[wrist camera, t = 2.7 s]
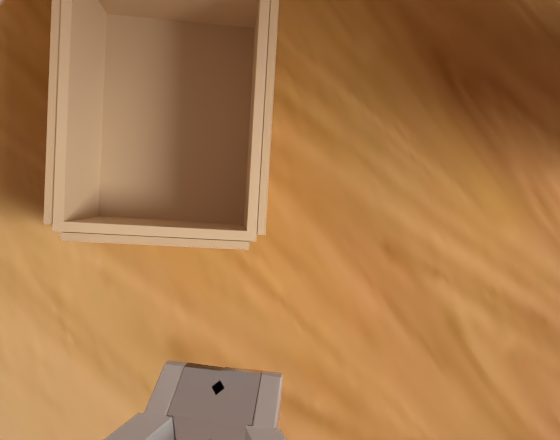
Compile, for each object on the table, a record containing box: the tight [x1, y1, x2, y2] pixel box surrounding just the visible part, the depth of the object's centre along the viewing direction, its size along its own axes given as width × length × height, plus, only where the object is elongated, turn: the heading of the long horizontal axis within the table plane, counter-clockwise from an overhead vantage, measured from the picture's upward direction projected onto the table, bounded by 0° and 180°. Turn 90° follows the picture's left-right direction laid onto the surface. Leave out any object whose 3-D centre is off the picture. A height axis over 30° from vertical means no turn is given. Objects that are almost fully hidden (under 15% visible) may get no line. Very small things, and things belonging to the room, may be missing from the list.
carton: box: [43, 0, 279, 250], centre depth 32 cm, size 16×13×8 cm
